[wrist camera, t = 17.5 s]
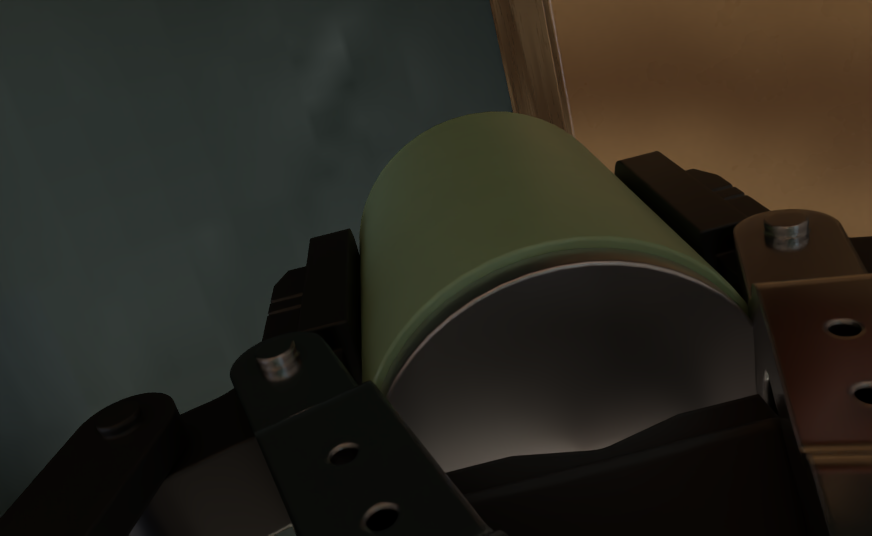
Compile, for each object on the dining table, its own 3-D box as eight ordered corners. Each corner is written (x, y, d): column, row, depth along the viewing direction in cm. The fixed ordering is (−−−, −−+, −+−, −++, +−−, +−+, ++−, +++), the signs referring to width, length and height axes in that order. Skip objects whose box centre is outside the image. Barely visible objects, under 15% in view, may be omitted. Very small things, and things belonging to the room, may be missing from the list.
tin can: (311, 185, 13) (278, 377, 7) (562, 63, 13) (728, 170, 7) (427, 388, 15) (471, 661, 9) (648, 288, 15) (831, 512, 9)
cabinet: (457, -148, 26) (515, -186, 17) (818, -251, 26) (1069, -344, 17) (540, 243, 33) (613, 365, 24) (828, 163, 33) (1013, 256, 24)
